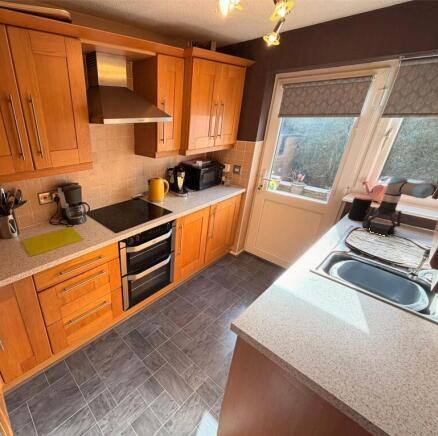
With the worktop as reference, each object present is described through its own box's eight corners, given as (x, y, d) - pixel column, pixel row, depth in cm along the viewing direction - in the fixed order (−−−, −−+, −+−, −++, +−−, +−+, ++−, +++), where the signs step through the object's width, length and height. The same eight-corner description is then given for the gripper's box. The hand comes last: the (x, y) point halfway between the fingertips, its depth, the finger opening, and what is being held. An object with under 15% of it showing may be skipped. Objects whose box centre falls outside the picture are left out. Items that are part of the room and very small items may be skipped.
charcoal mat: (393, 234, 153) (394, 231, 153) (362, 228, 163) (362, 225, 163) (392, 228, 163) (393, 225, 162) (362, 222, 173) (363, 220, 172)
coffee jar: (366, 222, 173) (374, 199, 166) (348, 220, 178) (355, 197, 172) (363, 218, 181) (371, 196, 175) (346, 215, 187) (353, 194, 180)
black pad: (385, 236, 150) (388, 229, 149) (369, 233, 155) (371, 226, 154) (385, 231, 158) (387, 224, 156) (369, 228, 163) (371, 221, 161)
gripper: (414, 203, 143) (400, 235, 151) (366, 196, 157) (356, 226, 165) (416, 206, 138) (401, 239, 146) (366, 199, 152) (355, 229, 160)
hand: (377, 232), depth 156 cm, fingers open, 10 cm apart
